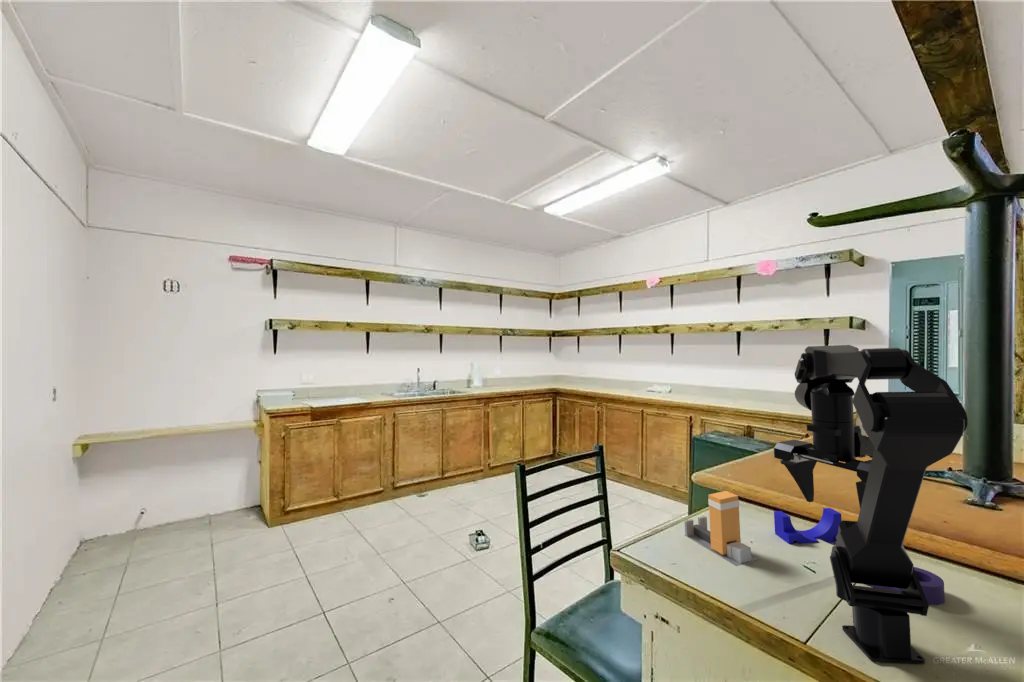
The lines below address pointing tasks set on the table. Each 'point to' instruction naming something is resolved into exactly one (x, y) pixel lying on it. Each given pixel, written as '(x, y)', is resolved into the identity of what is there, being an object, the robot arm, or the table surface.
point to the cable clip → (822, 530)
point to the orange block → (723, 520)
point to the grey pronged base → (701, 535)
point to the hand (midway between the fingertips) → (836, 511)
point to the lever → (926, 586)
